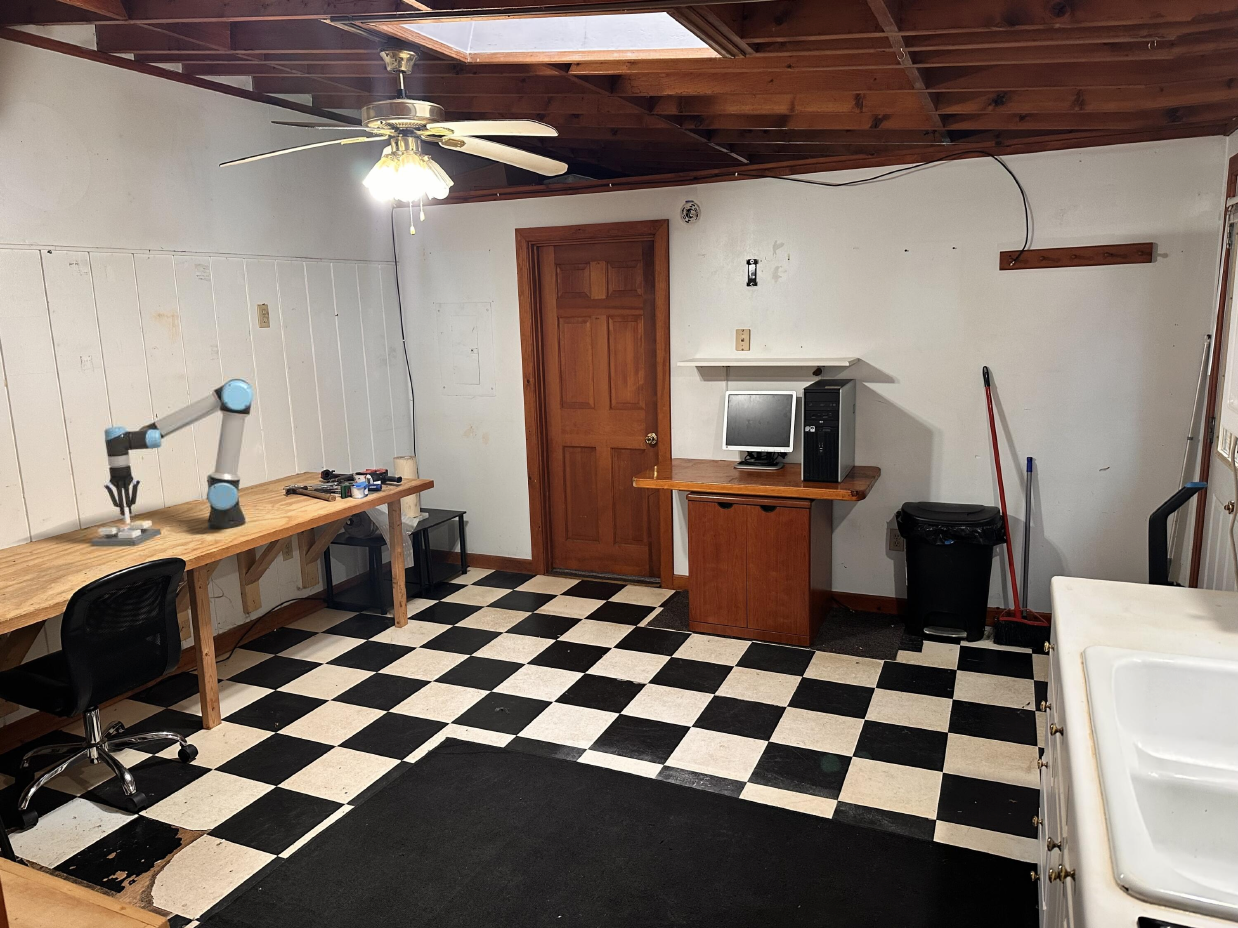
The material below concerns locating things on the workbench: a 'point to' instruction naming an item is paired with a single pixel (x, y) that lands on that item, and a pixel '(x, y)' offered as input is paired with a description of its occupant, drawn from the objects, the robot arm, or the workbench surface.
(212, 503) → the robot arm
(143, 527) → the cream key cap
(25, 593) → the workbench surface
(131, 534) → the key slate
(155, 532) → the keypad board
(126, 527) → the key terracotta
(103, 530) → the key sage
